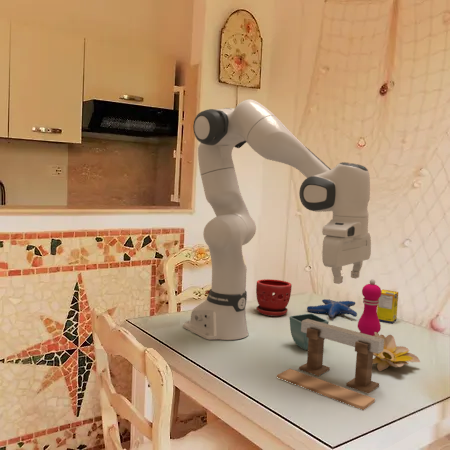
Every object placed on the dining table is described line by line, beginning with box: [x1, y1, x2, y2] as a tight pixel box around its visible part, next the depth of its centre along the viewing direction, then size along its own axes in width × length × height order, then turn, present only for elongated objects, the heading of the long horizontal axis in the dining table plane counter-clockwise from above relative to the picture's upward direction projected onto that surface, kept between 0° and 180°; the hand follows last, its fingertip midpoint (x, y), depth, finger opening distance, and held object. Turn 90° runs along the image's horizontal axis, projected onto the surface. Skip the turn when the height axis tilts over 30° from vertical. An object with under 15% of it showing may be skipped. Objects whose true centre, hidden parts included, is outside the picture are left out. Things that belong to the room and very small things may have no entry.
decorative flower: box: [372, 332, 421, 372], centre depth 137 cm, size 15×11×10 cm
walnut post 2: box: [345, 341, 380, 395], centre depth 124 cm, size 6×6×12 cm
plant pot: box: [255, 278, 293, 317], centre depth 186 cm, size 13×13×12 cm
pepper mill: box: [357, 279, 382, 336], centre depth 160 cm, size 7×7×20 cm
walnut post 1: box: [298, 328, 331, 377], centre depth 133 cm, size 6×6×12 cm
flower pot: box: [288, 313, 330, 351], centre depth 151 cm, size 9×9×9 cm
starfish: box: [306, 298, 358, 318], centre depth 189 cm, size 19×19×5 cm
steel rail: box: [301, 319, 384, 354], centre depth 128 cm, size 22×3×3 cm, turn 49°
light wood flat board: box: [276, 368, 376, 411], centre depth 122 cm, size 24×6×1 cm, turn 49°
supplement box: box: [377, 289, 399, 324], centre depth 183 cm, size 6×6×11 cm
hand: (346, 280), depth 127 cm, fingers open, 8 cm apart
